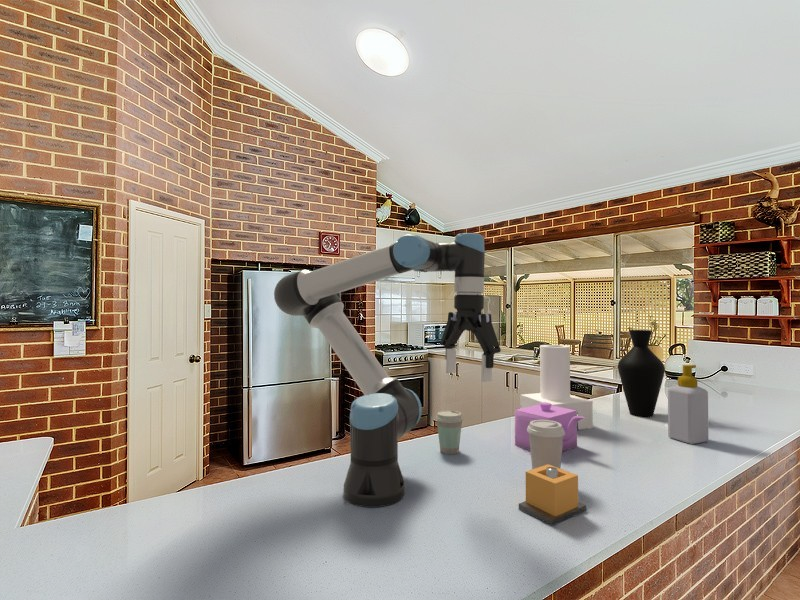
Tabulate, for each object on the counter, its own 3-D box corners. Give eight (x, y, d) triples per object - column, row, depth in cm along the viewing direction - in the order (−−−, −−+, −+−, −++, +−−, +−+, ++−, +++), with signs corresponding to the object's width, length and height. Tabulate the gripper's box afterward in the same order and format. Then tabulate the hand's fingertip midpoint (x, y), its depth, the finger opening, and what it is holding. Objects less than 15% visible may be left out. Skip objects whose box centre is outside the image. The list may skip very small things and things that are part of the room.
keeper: (552, 525, 91) (551, 481, 91) (518, 509, 99) (518, 468, 99) (586, 510, 98) (585, 469, 98) (552, 495, 105) (552, 457, 105)
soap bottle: (710, 442, 145) (709, 366, 145) (692, 445, 141) (691, 368, 142) (684, 434, 153) (683, 363, 153) (666, 437, 150) (665, 364, 150)
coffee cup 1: (462, 456, 132) (462, 417, 132) (434, 454, 134) (434, 416, 134) (463, 447, 141) (463, 410, 141) (437, 445, 142) (437, 409, 142)
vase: (628, 407, 192) (627, 328, 192) (672, 415, 179) (671, 330, 179) (610, 414, 181) (610, 330, 181) (655, 422, 168) (654, 332, 168)
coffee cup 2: (540, 490, 108) (540, 430, 108) (520, 476, 117) (519, 420, 117) (573, 486, 111) (573, 427, 111) (550, 472, 120) (550, 417, 120)
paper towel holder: (520, 419, 174) (520, 344, 174) (560, 415, 180) (559, 343, 180) (550, 432, 156) (549, 349, 156) (592, 428, 162) (592, 347, 162)
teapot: (570, 463, 126) (570, 415, 127) (503, 441, 147) (503, 400, 147) (598, 452, 136) (598, 407, 136) (531, 433, 156) (530, 394, 156)
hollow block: (555, 516, 93) (555, 483, 93) (525, 502, 99) (525, 471, 99) (578, 506, 97) (578, 475, 97) (548, 493, 104) (548, 464, 104)
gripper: (516, 294, 103) (515, 383, 103) (449, 294, 124) (448, 368, 124) (493, 293, 99) (492, 386, 99) (428, 294, 120) (427, 370, 120)
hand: (467, 376), depth 112 cm, fingers open, 13 cm apart
